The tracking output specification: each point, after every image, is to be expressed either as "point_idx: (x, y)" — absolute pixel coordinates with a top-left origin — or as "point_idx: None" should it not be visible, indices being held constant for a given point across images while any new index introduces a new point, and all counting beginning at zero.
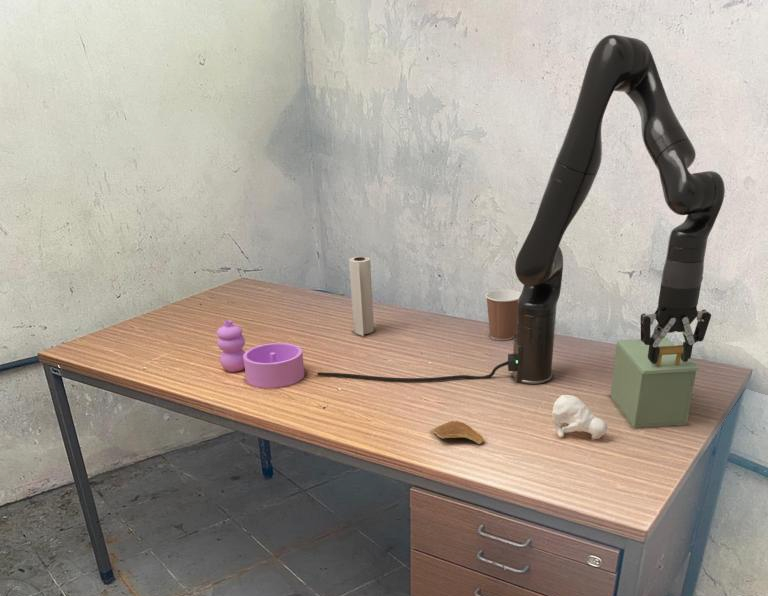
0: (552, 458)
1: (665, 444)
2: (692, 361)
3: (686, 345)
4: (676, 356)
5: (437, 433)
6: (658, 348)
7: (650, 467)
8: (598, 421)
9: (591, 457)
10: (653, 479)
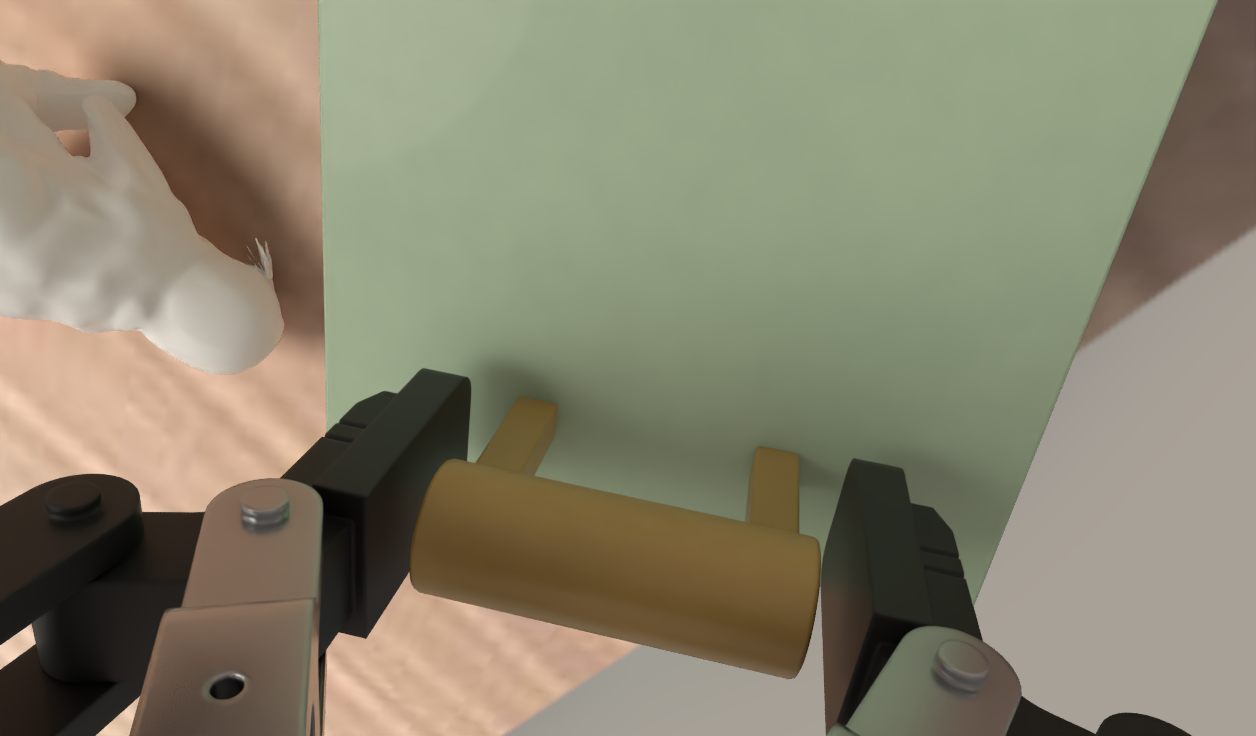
0: (12, 403)
1: None
2: (1033, 453)
3: (833, 723)
4: (747, 517)
5: None
6: (365, 630)
7: (440, 625)
8: (178, 355)
9: (197, 458)
10: (413, 701)
